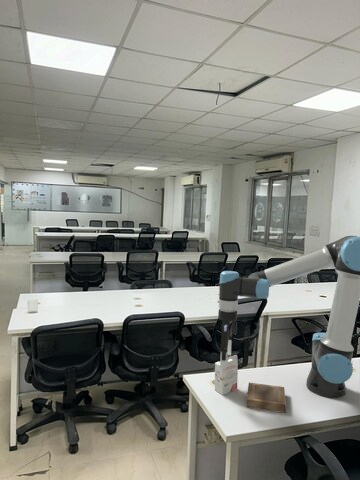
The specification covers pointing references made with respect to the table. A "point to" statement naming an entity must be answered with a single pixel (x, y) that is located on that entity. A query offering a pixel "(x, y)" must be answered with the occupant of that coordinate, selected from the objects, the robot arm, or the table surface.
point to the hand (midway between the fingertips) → (225, 361)
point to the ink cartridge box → (226, 376)
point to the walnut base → (266, 397)
